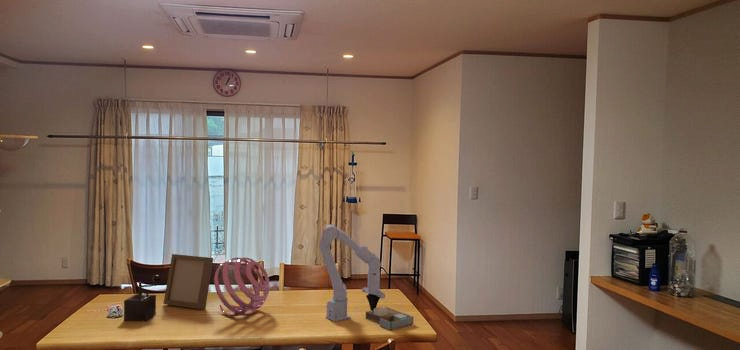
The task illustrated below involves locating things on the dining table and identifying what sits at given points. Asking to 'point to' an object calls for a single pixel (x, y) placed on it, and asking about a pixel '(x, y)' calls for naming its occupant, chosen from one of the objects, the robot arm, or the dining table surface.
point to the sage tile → (399, 317)
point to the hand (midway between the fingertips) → (373, 310)
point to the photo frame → (188, 281)
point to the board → (389, 317)
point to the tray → (396, 323)
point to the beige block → (380, 311)
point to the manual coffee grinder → (141, 304)
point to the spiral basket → (243, 286)
